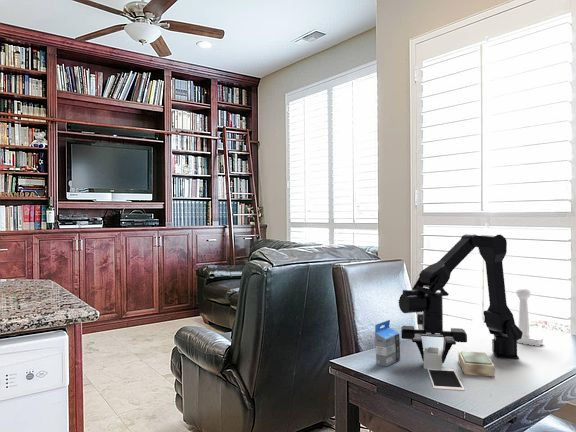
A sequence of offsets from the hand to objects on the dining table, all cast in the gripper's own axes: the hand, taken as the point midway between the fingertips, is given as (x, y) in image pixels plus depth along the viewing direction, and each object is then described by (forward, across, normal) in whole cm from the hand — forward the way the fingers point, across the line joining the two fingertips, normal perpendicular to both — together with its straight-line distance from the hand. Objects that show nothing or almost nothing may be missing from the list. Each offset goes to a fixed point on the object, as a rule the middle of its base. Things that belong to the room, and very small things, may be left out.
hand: (433, 361), depth 131 cm
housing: (+1, 0, 0) cm, 1 cm away
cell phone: (+2, -2, +11) cm, 11 cm away
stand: (+1, -12, 0) cm, 12 cm away
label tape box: (+1, +14, 0) cm, 14 cm away
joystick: (+1, -34, -34) cm, 48 cm away
